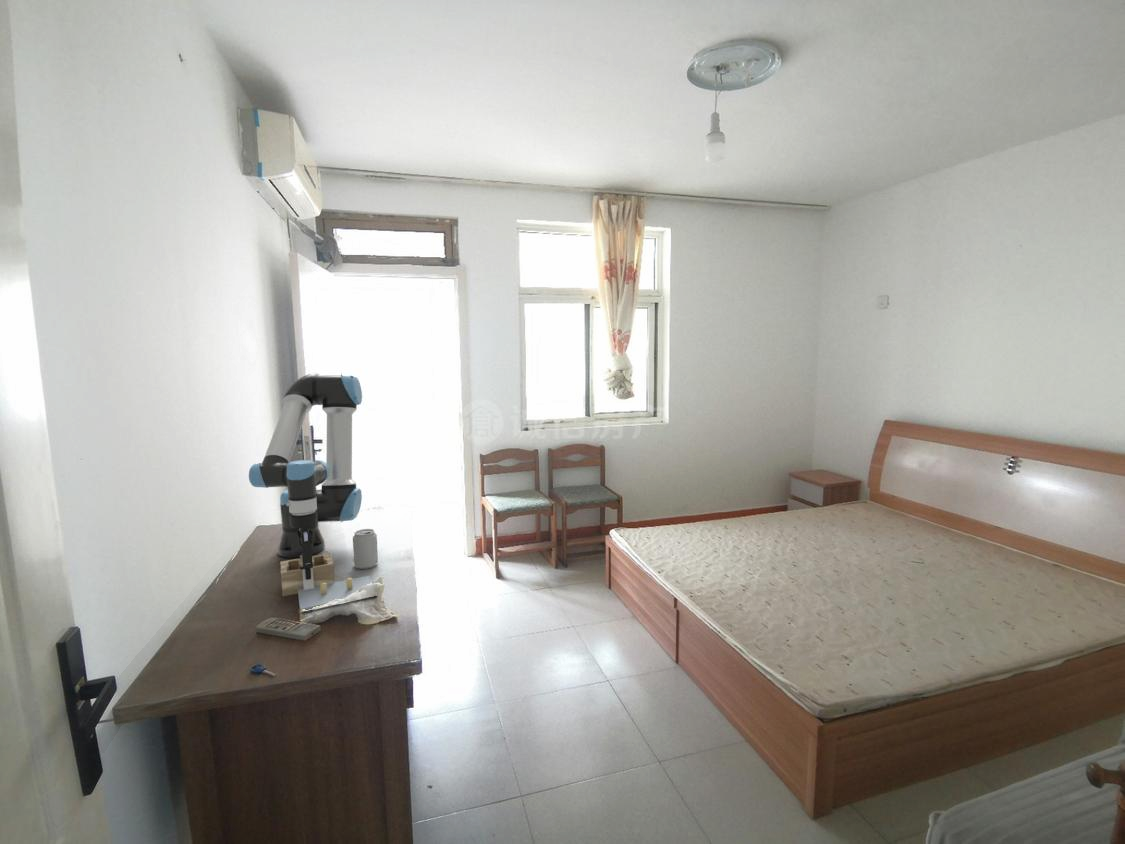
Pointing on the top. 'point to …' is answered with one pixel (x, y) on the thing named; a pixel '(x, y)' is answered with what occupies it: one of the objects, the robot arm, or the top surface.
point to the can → (365, 549)
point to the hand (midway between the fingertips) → (307, 581)
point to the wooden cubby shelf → (294, 575)
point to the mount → (330, 592)
